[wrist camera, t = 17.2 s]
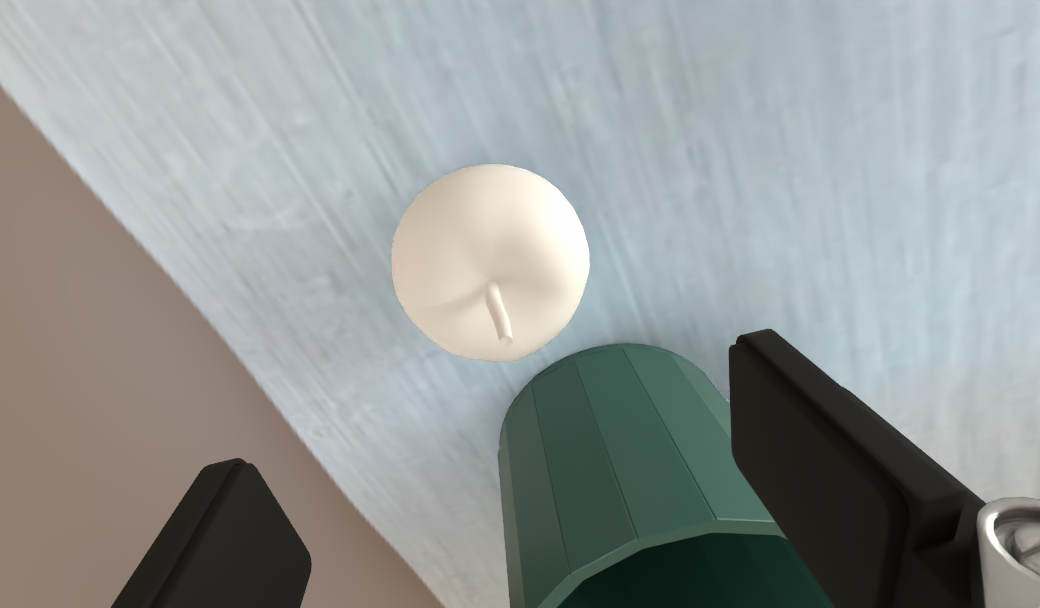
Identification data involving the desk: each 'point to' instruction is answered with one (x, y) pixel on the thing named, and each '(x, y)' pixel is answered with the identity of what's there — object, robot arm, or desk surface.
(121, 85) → the desk surface
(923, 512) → the robot arm
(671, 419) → the pot
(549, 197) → the plain white apple
